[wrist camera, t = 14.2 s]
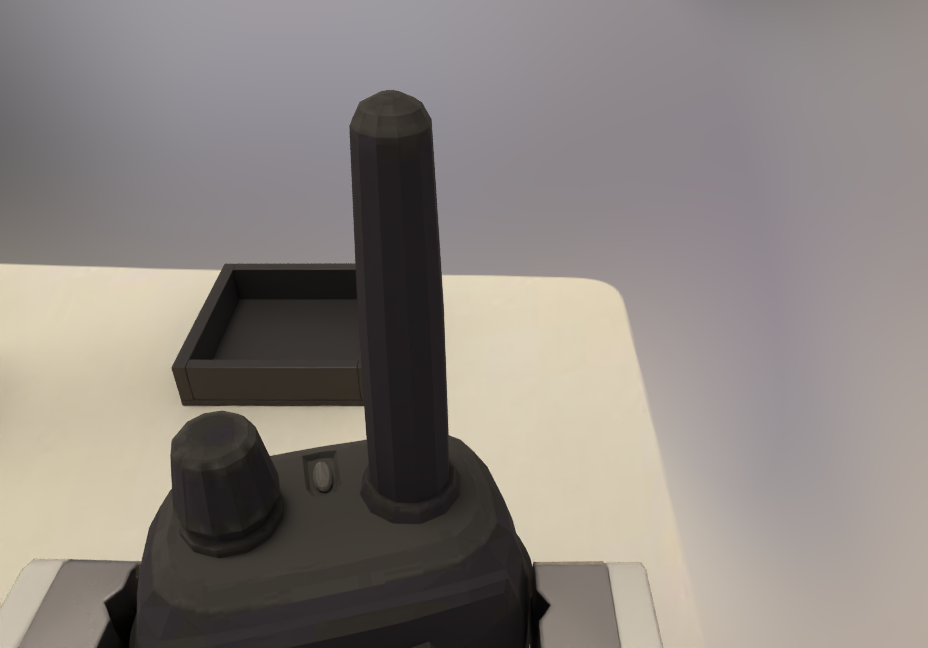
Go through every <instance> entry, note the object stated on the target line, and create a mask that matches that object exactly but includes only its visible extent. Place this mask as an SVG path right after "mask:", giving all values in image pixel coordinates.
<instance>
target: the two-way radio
mask: <svg viewBox="0 0 928 648" xmlns="http://www.w3.org/2000/svg"><path fill="white" fill-rule="evenodd" d="M350 149H351V171H352V194H353V217H354V238H355V261H356V284H357V307H358V325H359V339H360V353H361V366H362V380H363V394H364V407H365V421H366V435H367V440H362V441H356V442H349V443H343V444H336V445H329V446H323V447H317V448H311V449H306V450H300V451H295V452H289V453H284V454H279V455H273V456H269V454H268V452H267V450H266V448H265V446H264V444H263V441H262V439H261V437H260V435H259V433H258V431H257V429H256V427H255V426H254V425H253V424H252V423H251V422H250V421H249V420H248V419H246V418H245V417H244V416H242V415H239V414H235V413H231V412H226V411H217V412H211V413H204V414H202V415H200V416H198V417H196V418H194V419H192V420H190V421H188V422H187V423H186V424H185V425H184V426H183V427H182V429H181V430H180V431H179V432H178V433H177V435H176V436H175V437H174V438H173V439H172V444H171V476H172V489H171V490H170V492H169V494H168V495H167V497H166V498H165V500H164V502H163V503H162V505H161V506H160V508H159V510H158V512H157V514H156V516H155V518H154V520H153V521H152V523H151V525H150V527H149V531H148V536H147V540H146V544H145V549H144V553H143V557H142V562H141V566H140V573H139V581H138V589H137V613H136V615H135V619H134V622H133V625H132V629H131V634H130V640H129V648H529V644H530V636H529V624H530V598H531V597H532V596H533V594H532V563H531V559H530V557H529V554H528V552H527V550H526V548H525V546H524V545H523V543H522V541H521V540H520V538H519V536H518V535H517V534H516V531H515V527H514V524H513V520H512V517H511V515H510V513H509V510H508V508H507V506H506V503H505V501H504V499H503V497H502V495H501V493H500V491H499V489H498V487H497V485H496V483H495V481H494V479H493V477H492V475H491V473H490V471H489V469H488V467H487V466H486V465H485V464H484V463H483V461H482V460H481V459H480V458H479V457H478V456H477V455H476V454H475V453H474V452H473V451H472V450H471V449H470V448H469V447H468V446H467V445H466V444H465V443H463V442H462V441H461V440H460V439H457V438H454V437H452V436H449V435H448V408H447V382H446V355H445V328H444V304H443V289H442V273H441V258H440V243H439V228H438V213H437V198H436V182H435V167H434V151H433V135H432V121H431V118H430V116H429V114H428V112H427V111H426V109H425V107H424V105H423V104H422V102H420V101H419V100H417V99H416V98H414V97H412V96H409V95H407V94H404V93H402V92H399V91H394V90H386V91H381V92H379V93H377V94H375V95H373V96H371V97H369V98H367V99H365V100H363V101H361V102H360V103H359V105H358V107H357V109H356V112H355V114H354V116H353V118H352V121H351V124H350Z"/></svg>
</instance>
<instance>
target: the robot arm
mask: <svg viewBox="0 0 928 648" xmlns="http://www.w3.org/2000/svg"><path fill="white" fill-rule="evenodd" d="M141 562H142V561H111V560H73V559H33V560H32V561H31V562H30V563H29V564H28V565H27V566H26V567H24V568H23V569H22V571H21V572H20V574H19V576H18V578H17V579H16V581H15V583H14V584H13V586H12V588H11V590H10V591H9V593H8V595H7V596H6V598H5V600H4V602H3V603H2V605H1V607H0V648H129V640H130V634H131V629H132V625H133V622H134V619H135V615H136V613H137V589H138V581H139V573H140V566H141ZM532 594H533V596H532V597H531V598H530V624H529V636H530V648H663V644H662V640H661V635H660V631H659V626H658V622H657V617H656V612H655V608H654V603H653V599H652V594H651V590H650V585H649V581H648V576H647V571H646V569H645V567H644V566H643V564H642V563H640V562H618V563H604V562H603V561H597V562H534V563H533V567H532Z"/></svg>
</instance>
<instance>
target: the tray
mask: <svg viewBox="0 0 928 648" xmlns="http://www.w3.org/2000/svg"><path fill="white" fill-rule="evenodd" d="M172 371H173V375H174V378H175V381H176V385H177V388H178V391H179V395H180V398H181V402H182V405H364V394H363V380H362V366H361V353H360V339H359V325H358V307H357V284H356V264H225V265H224V266H223V268H222V270H221V272H220V274H219V276H218V278H217V280H216V282H215V284H214V286H213V288H212V290H211V292H210V294H209V296H208V297H207V299H206V301H205V303H204V305H203V307H202V309H201V311H200V313H199V315H198V317H197V319H196V321H195V323H194V325H193V327H192V329H191V331H190V333H189V334H188V336H187V338H186V340H185V342H184V344H183V346H182V348H181V350H180V352H179V354H178V356H177V358H176V360H175V362H174V364H173V366H172Z"/></svg>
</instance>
